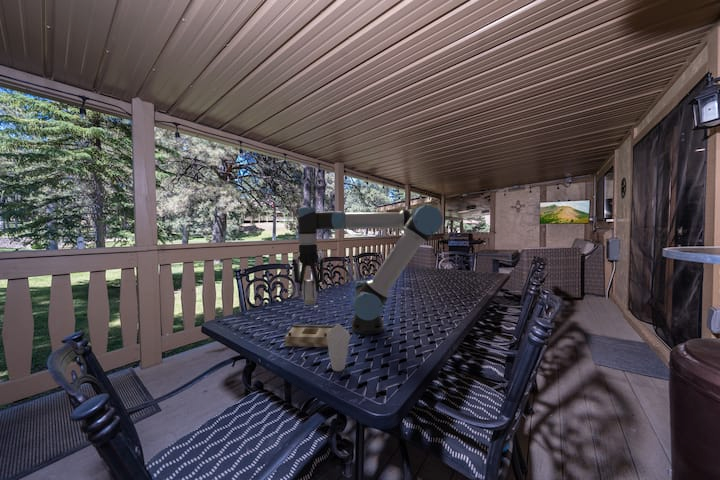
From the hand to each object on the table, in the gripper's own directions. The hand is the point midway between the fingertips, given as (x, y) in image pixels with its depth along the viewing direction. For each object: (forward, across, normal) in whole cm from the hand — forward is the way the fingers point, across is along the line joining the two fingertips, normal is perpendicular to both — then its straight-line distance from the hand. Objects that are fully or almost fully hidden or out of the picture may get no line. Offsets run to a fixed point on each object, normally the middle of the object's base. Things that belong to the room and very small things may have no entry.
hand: (309, 298), depth 115 cm
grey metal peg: (+2, 0, 0) cm, 2 cm away
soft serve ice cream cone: (+19, -14, +22) cm, 32 cm away
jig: (+18, 0, 0) cm, 18 cm away
